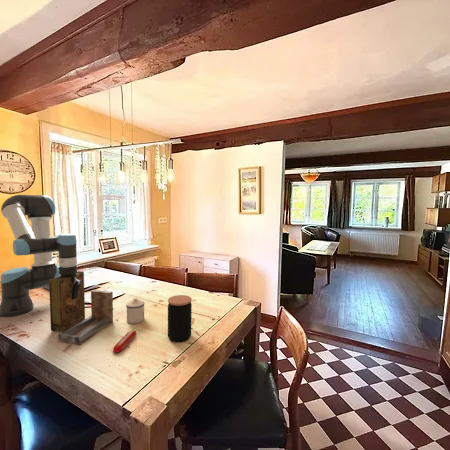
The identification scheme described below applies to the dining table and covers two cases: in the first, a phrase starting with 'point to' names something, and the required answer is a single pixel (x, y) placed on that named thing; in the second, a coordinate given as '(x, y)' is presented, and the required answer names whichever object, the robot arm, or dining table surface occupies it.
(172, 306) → the coffee jar
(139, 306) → the teacup with lid
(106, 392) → the dining table surface
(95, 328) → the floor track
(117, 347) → the candy bar
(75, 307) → the book
